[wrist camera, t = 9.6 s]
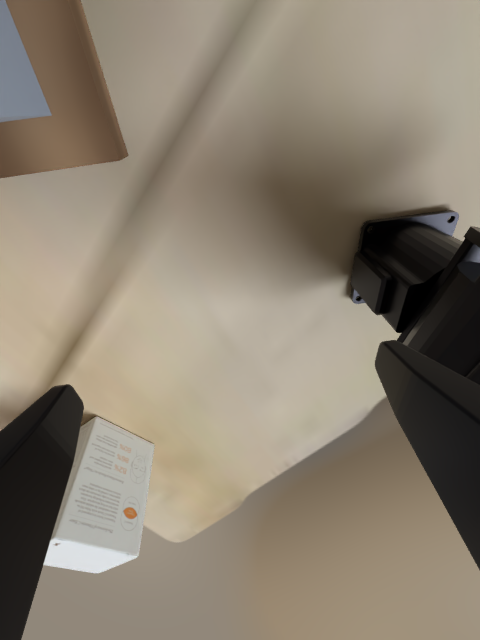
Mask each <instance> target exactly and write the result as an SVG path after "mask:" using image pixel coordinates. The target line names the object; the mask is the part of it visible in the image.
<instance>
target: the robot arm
mask: <svg viewBox="0 0 480 640" xmlns="http://www.w3.org/2000/svg"><path fill="white" fill-rule="evenodd" d="M450 216H451V218H450V219H449V220H448V218H449V217H450ZM458 218H459V215H458V213H457V212H455V211H452V210H448V211H440V212H432V213H425V214H417V215H409V216H401V217H393V218H385V219H377V220H370V221H367V222H365V223H364V224H363V226H362V228H361V234H360V241H359V247H358V252H357V253H356V254H355V257H354V264H353V270H352V277H351V286H352V291H351V300H352V301H353V302H354V303H355V304H360V303H366V304H367V305H368V306H369V307H370V309H371V310H372V311H373V312H374V313H375V314H376V315H382V316H383V317H384V318H385V319H386V320H387V322H388V323H389V324H390V325H391V326H392V328H393V329H394V330H395V331H396V332H397V333H401V335H400V336H399V338H398V339H397V341H396V340H391V341H384V342H381V343H380V345H379V348H378V352H377V356H376V360H375V368H376V371H377V373H378V376H379V378H380V381H381V383H382V385H383V388H384V390H385V393H386V395H387V397H388V400H389V402H390V405H391V407H392V409H393V412H394V414H395V416H396V418H397V420H398V422H399V424H400V426H401V428H402V429H403V431H404V433H405V435H406V437H407V438H408V440H409V442H410V444H411V445H412V448H413V449H414V451H415V453H416V455H417V457H418V458H419V460H420V462H421V464H422V466H423V467H424V469H425V471H426V473H427V475H428V477H429V478H430V480H431V482H432V484H433V485H434V488H435V489H436V491H437V493H438V495H439V497H440V499H441V500H442V502H443V504H444V506H445V508H446V509H447V511H448V513H449V515H450V517H451V519H452V520H453V522H454V524H455V526H456V528H457V530H458V531H459V533H460V535H461V537H462V539H463V541H464V542H465V544H466V546H467V548H468V550H469V551H470V553H471V555H472V557H473V559H474V560H475V562H476V564H477V566H478V568H479V570H480V228H477V227H473V226H471V227H470V228H469V230H468V231H467V233H466V234H465V236H464V237H465V240H464V241H463V242H462V241H460V240H458V239H456V238H454V237H452V235H453V232H454V230H455V227H456V224H457V221H458ZM447 220H448V221H447ZM370 226H372V229H371V230H370V231H367V230H368V228H369V227H370ZM357 296H359V297H358V298H356V297H357ZM83 410H84V405H83V402H82V400H81V399H80V397H79V396H78V394H77V393H76V391H75V390H74V388H73V387H72V386H71V385H69V384H66V385H58V386H54V387H52V388H51V389H50V390H49V391H47V392H46V393H45V394H44V395H43V396H42V397H40V398H39V399H38V400H37V401H36V402H34V403H33V404H32V405H31V406H30V407H29V408H27V409H26V410H25V411H24V412H23V413H21V414H20V415H19V416H18V417H17V418H16V419H14V420H13V421H12V422H11V423H10V424H8V425H7V426H6V427H5V428H4V429H3V430H1V431H0V640H21V638H22V635H23V631H24V628H25V625H26V621H27V618H28V614H29V611H30V608H31V605H32V601H33V598H34V594H35V591H36V588H37V584H38V581H39V577H40V574H41V571H42V567H43V564H44V561H45V557H46V554H47V551H48V547H49V544H50V541H51V537H52V534H53V530H54V527H55V524H56V520H57V517H58V514H59V510H60V507H61V503H62V500H63V497H64V493H65V490H66V487H67V483H68V480H69V476H70V473H71V470H72V466H73V462H74V458H75V454H76V448H77V443H78V437H79V432H80V427H81V421H82V416H83Z"/></svg>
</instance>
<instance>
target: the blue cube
mask: <svg viewBox="0 0 480 640" xmlns="http://www.w3.org/2000/svg"><path fill="white" fill-rule="evenodd" d="M44 116H52V114H51V112H50V109H49V107H48V105H47V102H46V100H45V97H44V95H43V92H42V90H41V87H40V85H39V82H38V80H37V77H36V75H35V73H34V70H33V68H32V65H31V63H30V60H29V58H28V55H27V53H26V50H25V48H24V45H23V43H22V41H21V38H20V36H19V33H18V31H17V28H16V26H15V23H14V21H13V18H12V16H11V13H10V11H9V8H8V6H7V4H6V1H5V0H0V122H6V121H14V120H21V119H29V118H37V117H44Z"/></svg>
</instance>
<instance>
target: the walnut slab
mask: <svg viewBox="0 0 480 640" xmlns="http://www.w3.org/2000/svg"><path fill="white" fill-rule="evenodd" d="M5 1H6V4H7V6H8V8H9V11H10V13H11V16H12V18H13V21H14V23H15V26H16V28H17V31H18V33H19V36H20V38H21V41H22V43H23V45H24V48H25V50H26V53H27V55H28V58H29V60H30V63H31V65H32V68H33V70H34V73H35V75H36V77H37V80H38V82H39V85H40V87H41V90H42V92H43V95H44V97H45V100H46V102H47V105H48V107H49V109H50V112H51V114H52V116H44V117H37V118H29V119H21V120H14V121H6V122H0V178H5V177H11V176H18V175H25V174H32V173H38V172H45V171H52V170H59V169H65V168H72V167H79V166H86V165H92V164H99V163H106V162H113V161H119V160H122V159H123V158H125V157H127V156H128V153H127V150H126V146H125V143H124V140H123V137H122V134H121V130H120V127H119V124H118V121H117V117H116V114H115V111H114V108H113V104H112V101H111V98H110V95H109V91H108V88H107V85H106V82H105V78H104V75H103V72H102V69H101V65H100V62H99V59H98V56H97V52H96V49H95V46H94V43H93V39H92V36H91V33H90V30H89V26H88V23H87V20H86V17H85V13H84V10H83V7H82V4H81V0H5Z"/></svg>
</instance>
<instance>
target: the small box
mask: <svg viewBox="0 0 480 640" xmlns="http://www.w3.org/2000/svg"><path fill="white" fill-rule="evenodd" d="M154 447H155V445H154V444H153V443H150V442H148V441H146V440H144V439H142V438H140V437H138V436H136V435H134V434H132V433H130V432H128V431H126V430H124V429H122V428H120V427H118V426H116V425H114V424H112V423H110V422H108V421H106V420H104V419H102V418H100V417H98V416H96V417H94V418H93V419H91V420H90V421H88V422H87V423H86V424H84V425H83V426H81V427H80V432H79V437H78V443H77V448H76V454H75V458H74V462H73V466H72V470H71V473H70V476H69V480H68V483H67V487H66V490H65V493H64V497H63V500H62V503H61V507H60V510H59V514H58V517H57V520H56V524H55V527H54V530H53V534H52V537H51V541H50V544H49V547H48V551H47V554H46V557H45V561H44V564H43V565H48V566H54V567H60V568H66V569H73V570H79V571H85V572H91V573H100V572H103V571H105V570H108V569H110V568H113V567H115V566H118V565H120V564H122V563H125V562H127V561H130V560H132V559H135V558H137V557H138V555H139V549H140V542H141V535H142V529H143V522H144V516H145V509H146V502H147V495H148V488H149V481H150V474H151V467H152V460H153V454H154Z"/></svg>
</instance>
